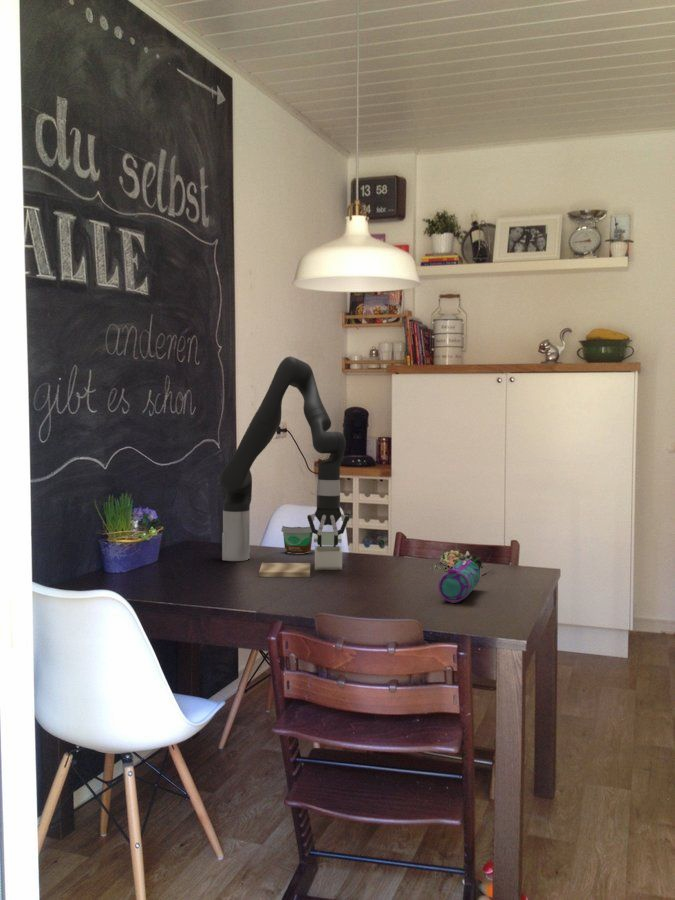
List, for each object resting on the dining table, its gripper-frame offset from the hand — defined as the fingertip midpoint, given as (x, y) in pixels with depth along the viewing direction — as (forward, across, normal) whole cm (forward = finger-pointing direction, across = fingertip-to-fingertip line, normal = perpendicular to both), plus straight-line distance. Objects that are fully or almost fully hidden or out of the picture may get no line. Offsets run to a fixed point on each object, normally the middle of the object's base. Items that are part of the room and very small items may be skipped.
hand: (327, 546), depth 273 cm
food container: (+9, +11, -36) cm, 38 cm away
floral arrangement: (+9, -44, -10) cm, 46 cm away
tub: (+9, 0, -11) cm, 14 cm away
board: (+9, +14, -1) cm, 16 cm away
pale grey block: (-1, 0, -7) cm, 7 cm away
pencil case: (+8, -38, +34) cm, 51 cm away
